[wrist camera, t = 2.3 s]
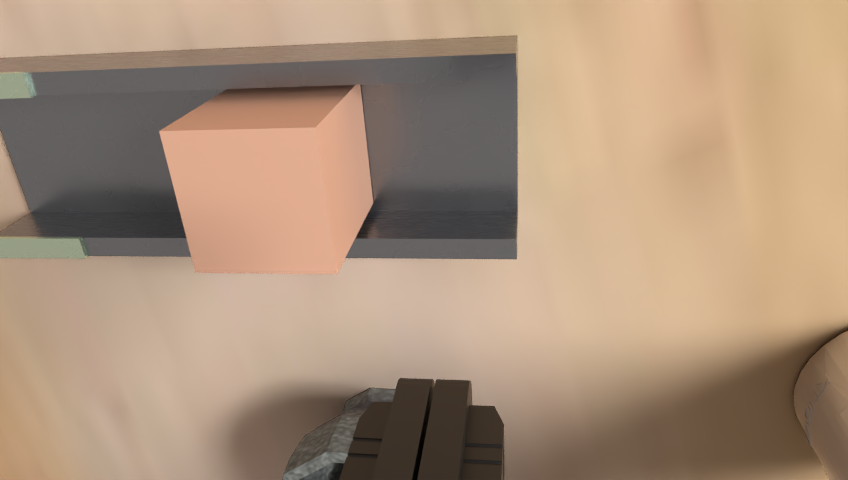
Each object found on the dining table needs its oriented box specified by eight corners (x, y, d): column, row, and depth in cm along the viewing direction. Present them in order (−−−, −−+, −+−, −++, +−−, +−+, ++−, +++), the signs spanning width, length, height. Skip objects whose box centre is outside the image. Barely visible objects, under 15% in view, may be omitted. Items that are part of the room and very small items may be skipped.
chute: (517, 34, 28) (515, 53, 25) (517, 223, 32) (516, 262, 29) (-13, 57, 32) (-79, 76, 29) (46, 223, 36) (-5, 257, 33)
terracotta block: (359, 80, 29) (315, 127, 23) (373, 202, 32) (336, 274, 26) (233, 84, 30) (159, 131, 24) (257, 203, 33) (195, 272, 27)
